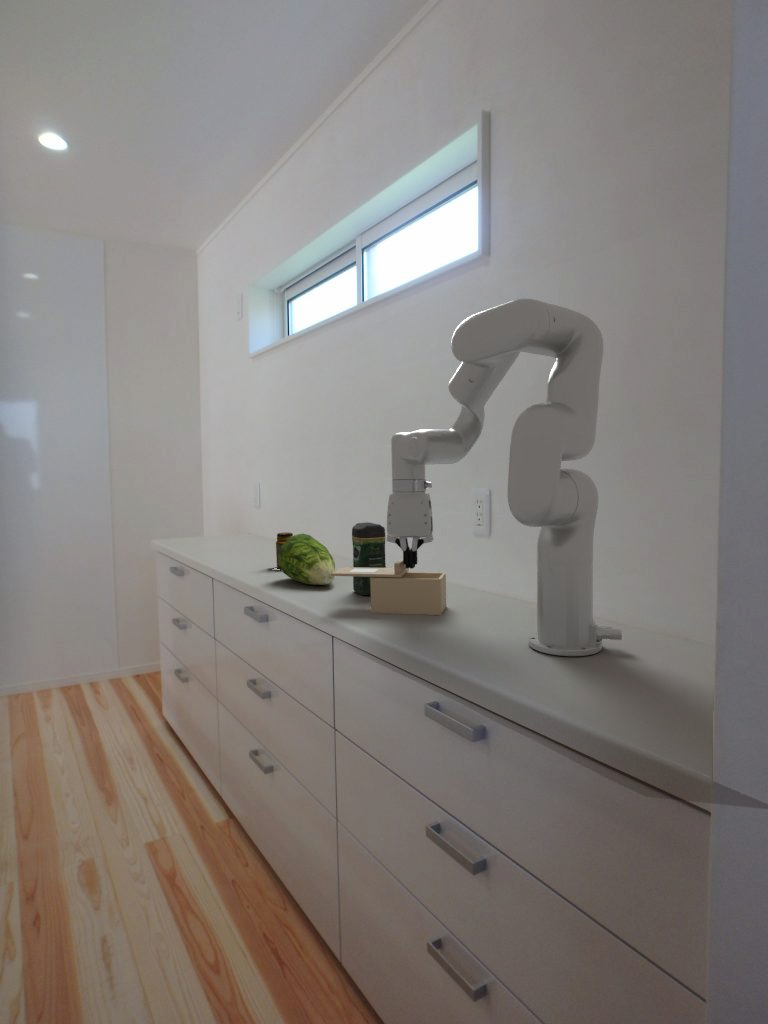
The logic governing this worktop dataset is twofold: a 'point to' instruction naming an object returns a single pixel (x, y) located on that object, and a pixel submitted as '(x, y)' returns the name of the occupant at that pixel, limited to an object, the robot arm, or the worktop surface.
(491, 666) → the worktop surface
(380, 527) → the coffee jar
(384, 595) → the box
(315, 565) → the lettuce
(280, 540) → the condiment
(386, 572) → the lid
